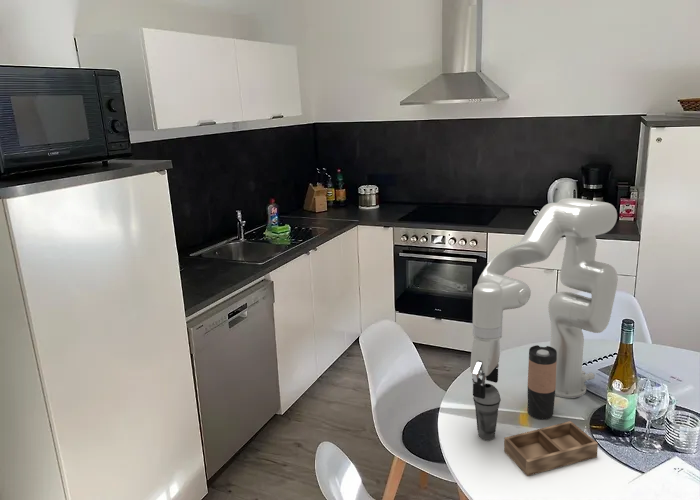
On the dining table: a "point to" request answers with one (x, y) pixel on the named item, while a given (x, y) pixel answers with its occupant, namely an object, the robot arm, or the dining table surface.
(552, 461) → the tray
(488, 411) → the beverage cup
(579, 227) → the robot arm
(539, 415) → the travel mug
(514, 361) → the dining table surface
